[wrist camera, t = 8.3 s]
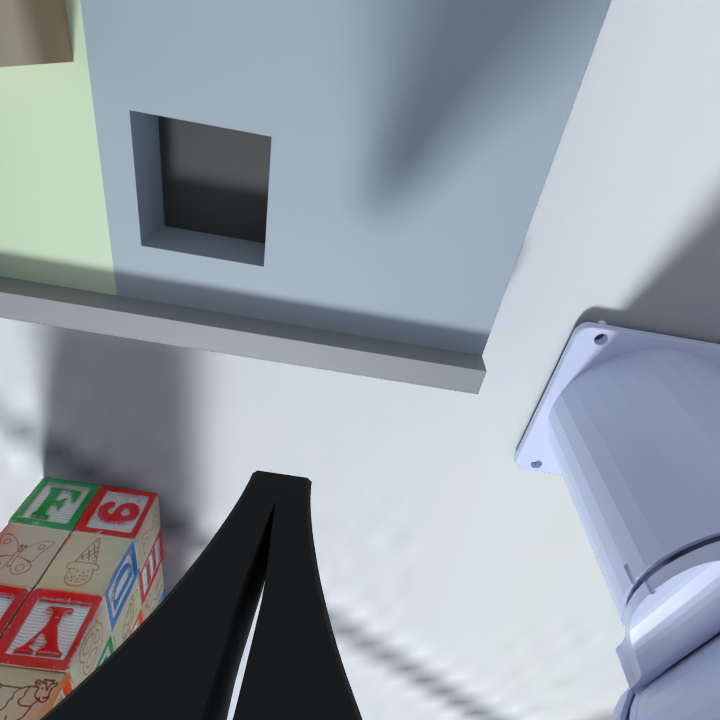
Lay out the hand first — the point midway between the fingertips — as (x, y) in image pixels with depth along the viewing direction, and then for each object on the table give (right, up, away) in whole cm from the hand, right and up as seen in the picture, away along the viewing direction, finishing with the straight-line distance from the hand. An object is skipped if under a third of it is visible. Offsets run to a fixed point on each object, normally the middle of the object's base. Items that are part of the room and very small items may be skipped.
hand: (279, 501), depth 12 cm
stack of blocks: (-14, -12, +20) cm, 27 cm away
